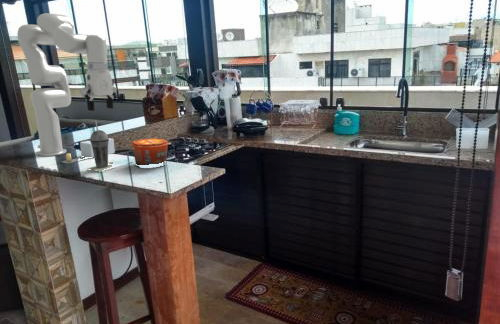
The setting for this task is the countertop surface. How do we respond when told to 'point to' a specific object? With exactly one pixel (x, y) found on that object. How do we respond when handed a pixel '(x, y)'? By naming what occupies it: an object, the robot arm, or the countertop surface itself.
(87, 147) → the cover
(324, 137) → the countertop surface
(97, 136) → the beverage cup
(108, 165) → the board
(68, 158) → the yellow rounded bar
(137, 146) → the food container
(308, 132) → the countertop surface
